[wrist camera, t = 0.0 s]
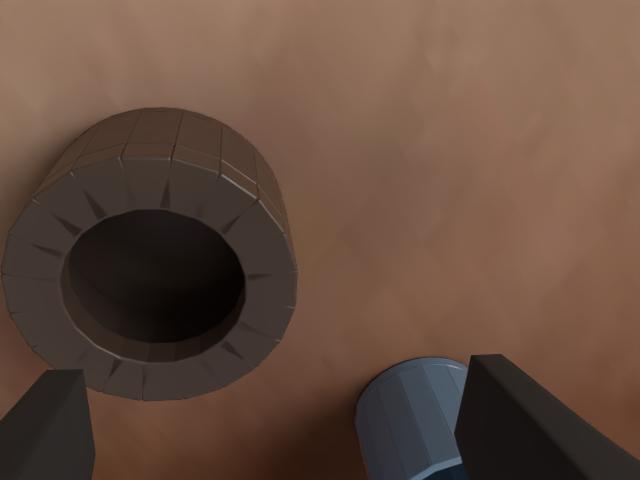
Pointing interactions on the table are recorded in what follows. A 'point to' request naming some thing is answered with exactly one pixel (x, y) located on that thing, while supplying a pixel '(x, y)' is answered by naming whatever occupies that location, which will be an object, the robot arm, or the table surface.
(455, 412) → the cup
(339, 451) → the table surface
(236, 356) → the brown short cylinder
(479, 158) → the table surface
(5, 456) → the robot arm
